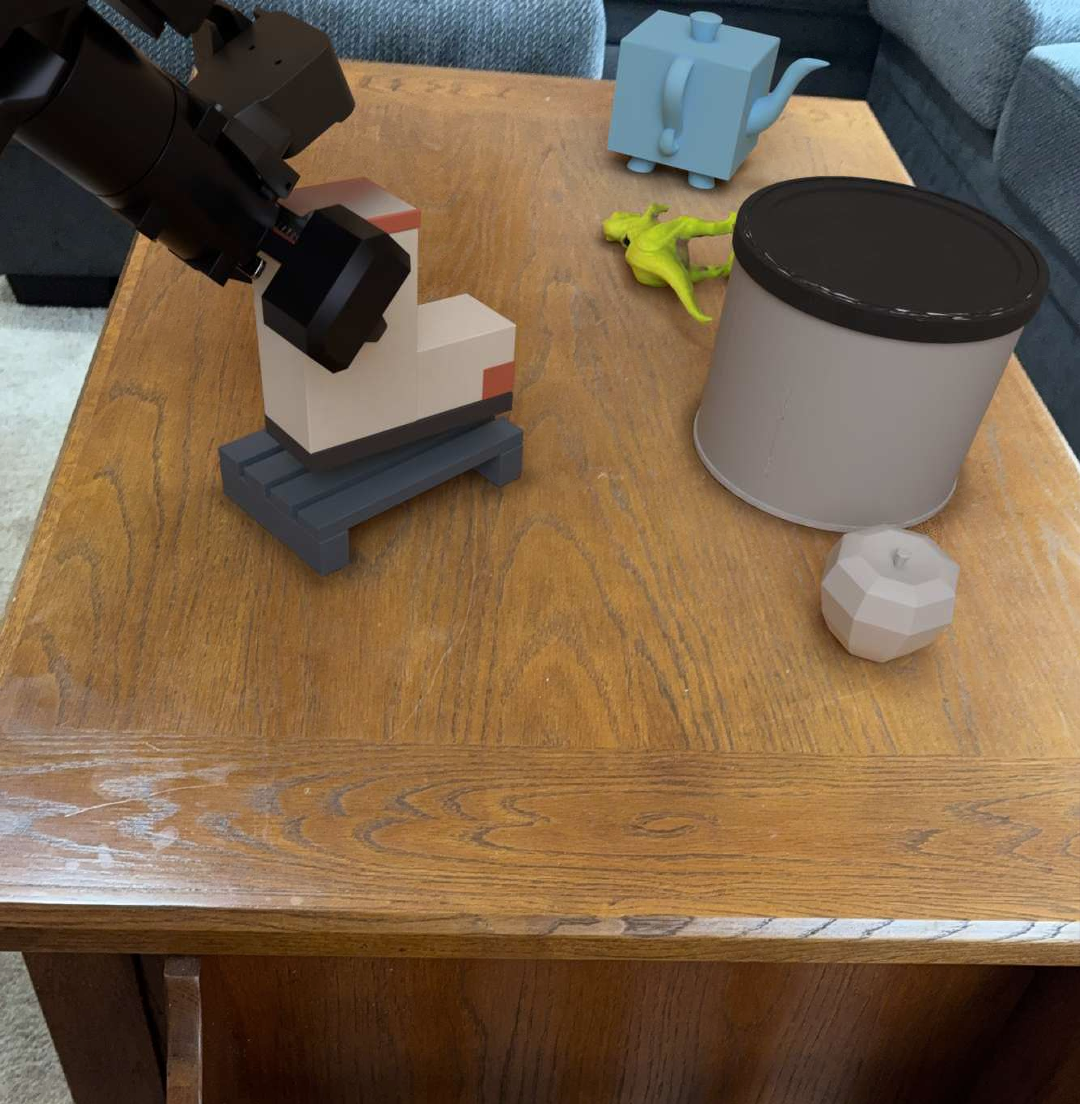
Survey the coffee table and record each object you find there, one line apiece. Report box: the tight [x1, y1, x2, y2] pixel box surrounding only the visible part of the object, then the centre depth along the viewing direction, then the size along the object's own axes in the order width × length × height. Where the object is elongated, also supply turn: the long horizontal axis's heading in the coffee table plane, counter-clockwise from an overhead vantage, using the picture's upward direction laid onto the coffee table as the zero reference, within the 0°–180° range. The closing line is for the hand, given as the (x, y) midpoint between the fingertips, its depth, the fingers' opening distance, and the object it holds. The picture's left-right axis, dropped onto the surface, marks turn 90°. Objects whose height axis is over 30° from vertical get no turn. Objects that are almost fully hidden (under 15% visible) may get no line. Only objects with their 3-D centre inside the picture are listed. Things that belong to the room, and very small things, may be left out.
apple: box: [820, 524, 961, 664], centre depth 62 cm, size 8×8×7 cm
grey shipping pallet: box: [217, 415, 525, 577], centre depth 69 cm, size 16×10×4 cm, turn 135°
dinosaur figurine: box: [601, 202, 738, 324], centre depth 91 cm, size 20×10×6 cm, turn 29°
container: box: [692, 175, 1051, 534], centre depth 72 cm, size 19×19×15 cm
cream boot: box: [251, 176, 517, 474], centre depth 61 cm, size 14×5×13 cm, turn 129°
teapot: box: [606, 9, 831, 190], centre depth 104 cm, size 18×16×13 cm
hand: (349, 311), depth 59 cm, fingers closed on cream boot, 5 cm apart
